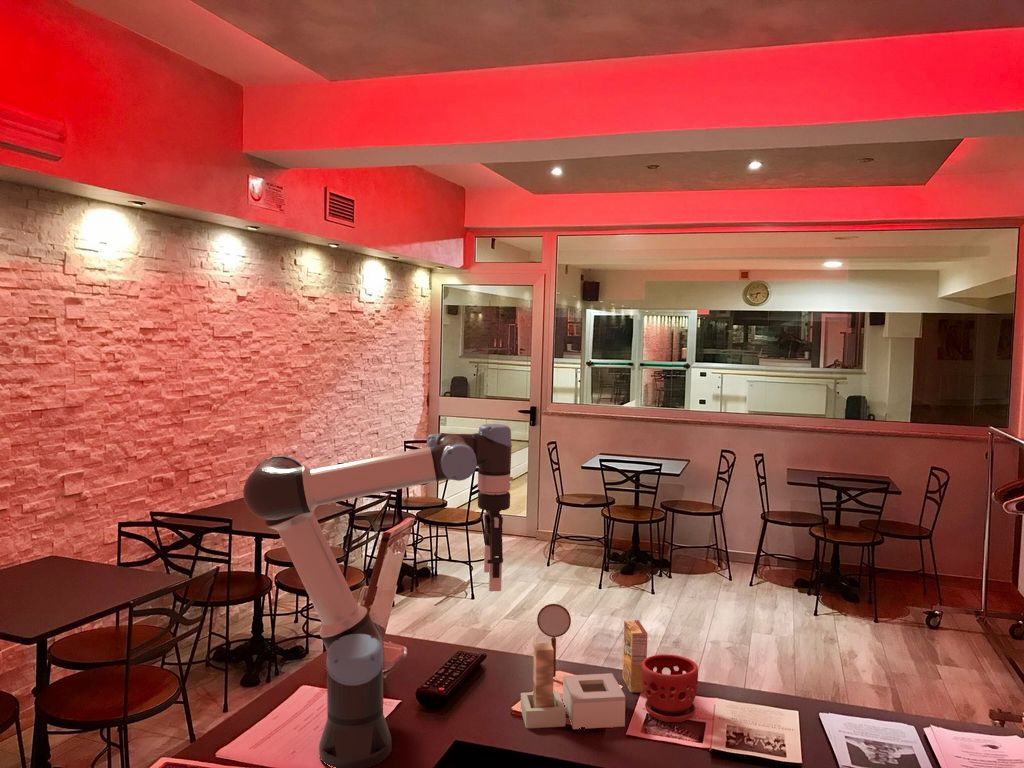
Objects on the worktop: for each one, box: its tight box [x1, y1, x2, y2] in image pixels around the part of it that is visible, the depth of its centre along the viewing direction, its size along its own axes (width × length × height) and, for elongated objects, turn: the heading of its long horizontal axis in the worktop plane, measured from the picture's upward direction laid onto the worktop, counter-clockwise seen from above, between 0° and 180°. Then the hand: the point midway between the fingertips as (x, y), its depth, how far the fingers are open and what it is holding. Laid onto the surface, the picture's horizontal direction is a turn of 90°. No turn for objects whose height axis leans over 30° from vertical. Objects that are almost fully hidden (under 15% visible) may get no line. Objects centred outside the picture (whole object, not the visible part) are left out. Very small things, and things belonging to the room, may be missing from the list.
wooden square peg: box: [532, 642, 554, 708], centre depth 181 cm, size 4×4×17 cm
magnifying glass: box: [536, 603, 572, 677], centre depth 201 cm, size 9×2×20 cm, turn 85°
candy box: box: [622, 619, 648, 694], centre depth 198 cm, size 9×4×15 cm, turn 6°
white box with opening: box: [562, 672, 626, 730], centre depth 183 cm, size 12×12×7 cm
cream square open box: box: [520, 690, 566, 729], centre depth 182 cm, size 9×9×4 cm
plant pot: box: [641, 653, 699, 723], centre depth 184 cm, size 13×13×12 cm
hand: (492, 581), depth 183 cm, fingers open, 13 cm apart
